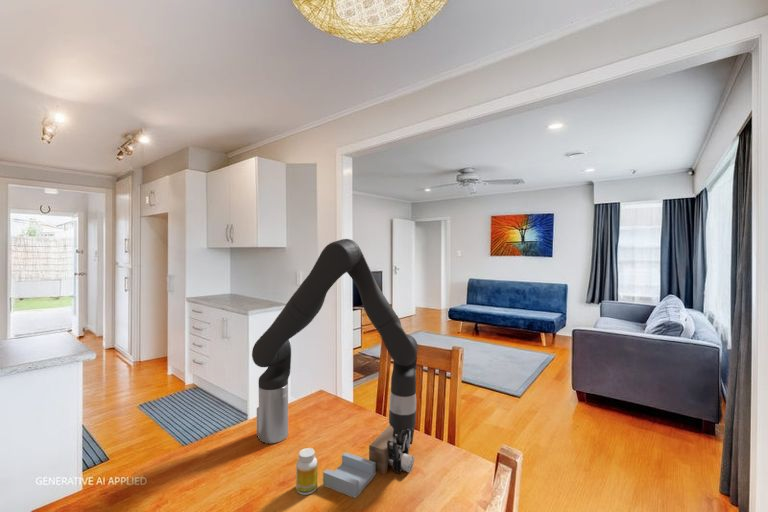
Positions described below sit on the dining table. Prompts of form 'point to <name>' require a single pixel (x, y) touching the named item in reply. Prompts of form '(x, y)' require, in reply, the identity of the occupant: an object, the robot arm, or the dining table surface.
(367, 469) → the cradle
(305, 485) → the supplement bottle
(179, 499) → the dining table surface
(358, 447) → the dining table surface
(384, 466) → the beam
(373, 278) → the robot arm
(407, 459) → the axle
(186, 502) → the dining table surface
